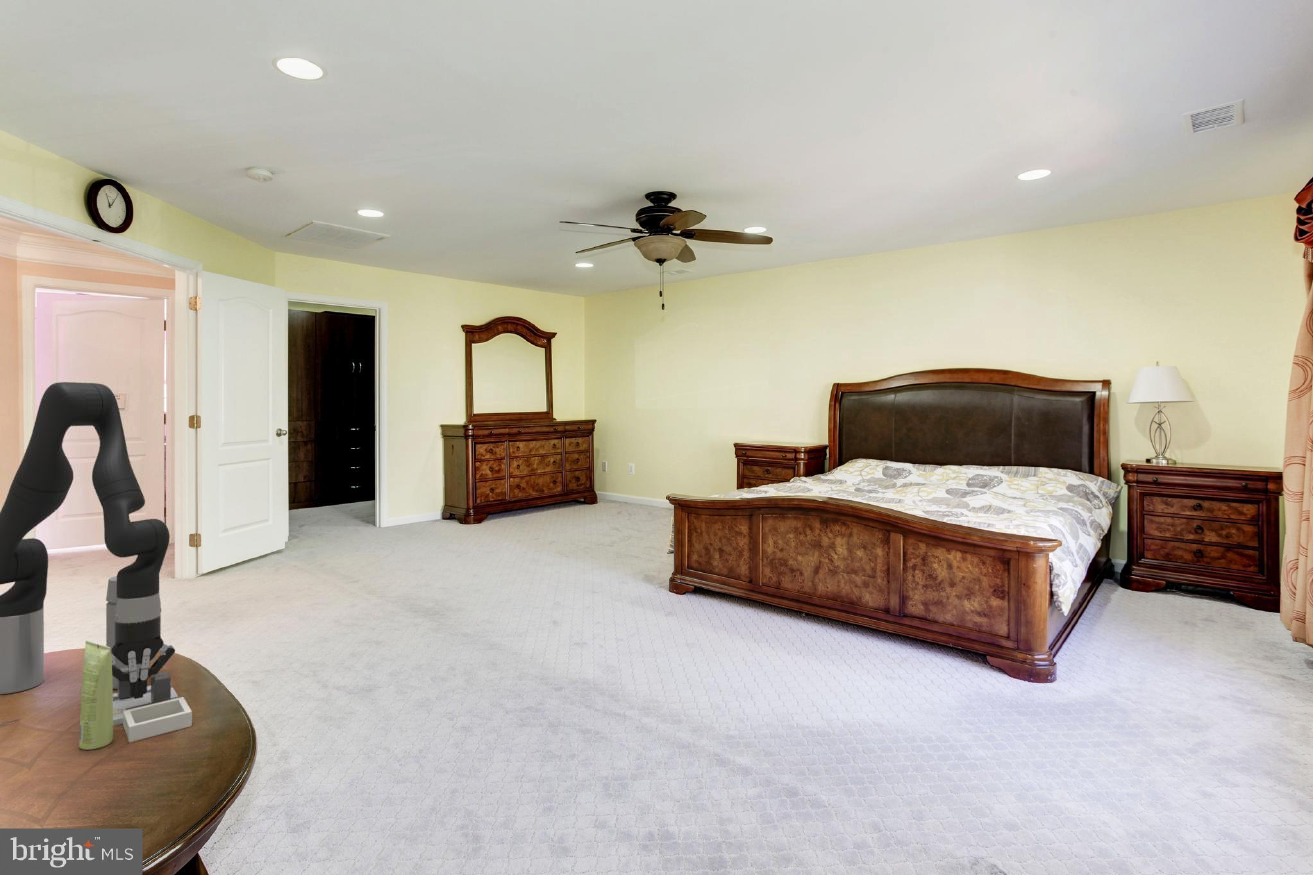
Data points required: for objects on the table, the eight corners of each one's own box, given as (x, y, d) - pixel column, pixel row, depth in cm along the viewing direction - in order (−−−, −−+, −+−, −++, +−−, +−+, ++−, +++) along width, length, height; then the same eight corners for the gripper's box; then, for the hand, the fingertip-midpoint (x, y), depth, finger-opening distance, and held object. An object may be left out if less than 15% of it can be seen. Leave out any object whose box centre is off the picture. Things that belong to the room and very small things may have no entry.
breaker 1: (117, 694, 143) (117, 668, 143) (134, 690, 145) (134, 665, 145) (119, 698, 141) (119, 673, 140) (136, 694, 143) (136, 669, 143)
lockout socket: (122, 725, 133) (123, 710, 132) (183, 710, 140) (183, 696, 140) (129, 742, 126) (129, 727, 126) (191, 725, 133) (191, 711, 133)
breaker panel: (104, 700, 143) (104, 694, 143) (169, 686, 151) (169, 680, 151) (112, 726, 132) (112, 718, 132) (182, 708, 140) (182, 702, 140)
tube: (121, 735, 129) (121, 637, 128) (110, 748, 124) (110, 646, 123) (86, 739, 127) (85, 640, 126) (73, 752, 122) (72, 649, 121)
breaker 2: (150, 700, 141) (150, 674, 140) (168, 696, 143) (168, 670, 142) (153, 704, 138) (153, 678, 138) (170, 700, 141) (170, 675, 140)
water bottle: (105, 694, 146) (105, 583, 145) (106, 681, 152) (106, 575, 151) (157, 684, 152) (157, 577, 151) (156, 673, 158) (156, 570, 157)
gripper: (173, 605, 144) (173, 682, 145) (94, 617, 135) (94, 700, 136) (180, 613, 139) (179, 694, 140) (98, 626, 130) (98, 712, 130)
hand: (137, 696), depth 138 cm, fingers closed
